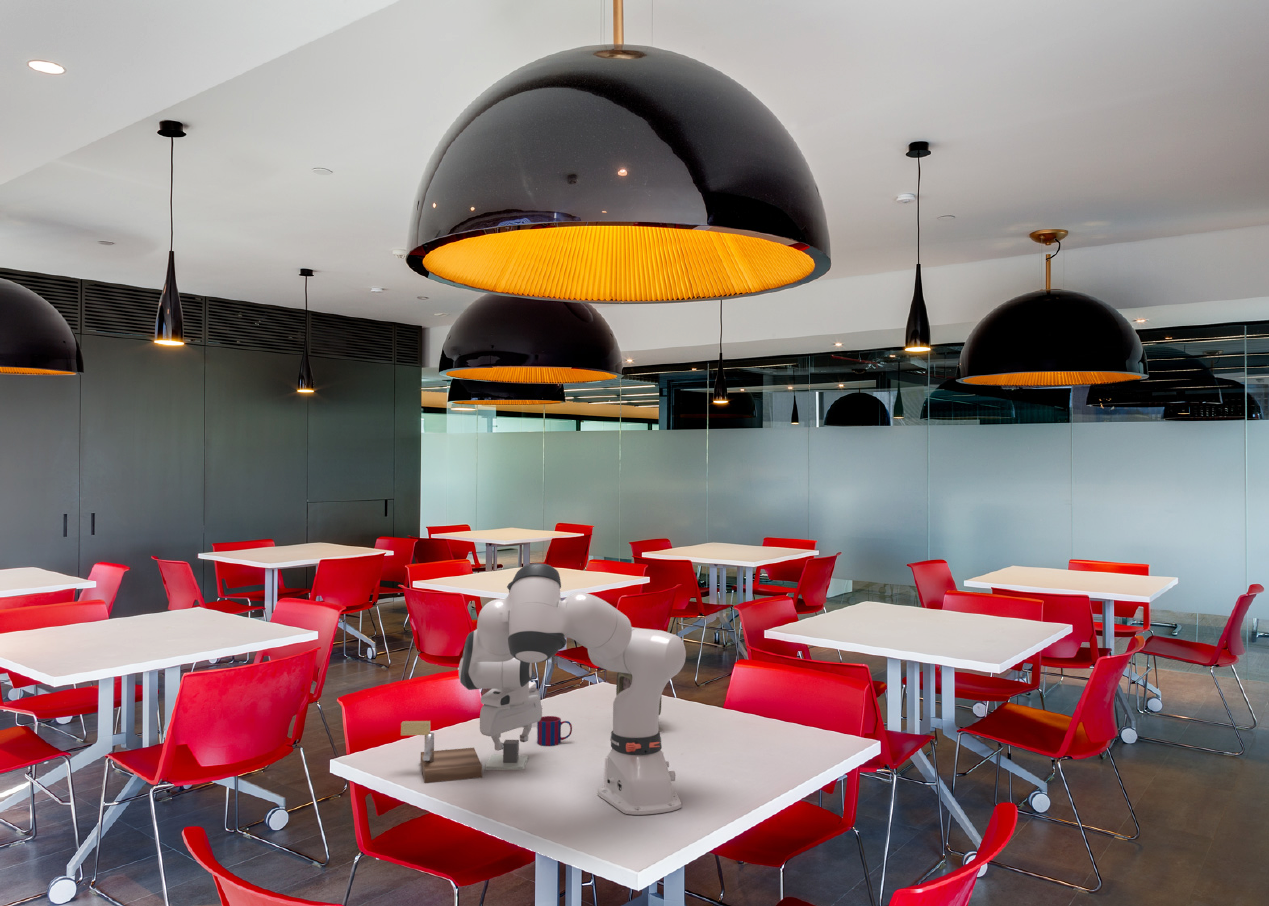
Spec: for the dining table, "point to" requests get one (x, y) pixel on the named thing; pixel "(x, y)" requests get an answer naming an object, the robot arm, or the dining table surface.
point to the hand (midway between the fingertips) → (511, 745)
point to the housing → (452, 765)
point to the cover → (508, 758)
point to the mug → (550, 731)
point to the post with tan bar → (421, 729)
